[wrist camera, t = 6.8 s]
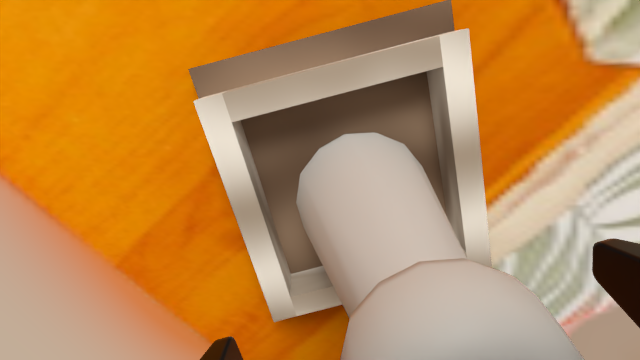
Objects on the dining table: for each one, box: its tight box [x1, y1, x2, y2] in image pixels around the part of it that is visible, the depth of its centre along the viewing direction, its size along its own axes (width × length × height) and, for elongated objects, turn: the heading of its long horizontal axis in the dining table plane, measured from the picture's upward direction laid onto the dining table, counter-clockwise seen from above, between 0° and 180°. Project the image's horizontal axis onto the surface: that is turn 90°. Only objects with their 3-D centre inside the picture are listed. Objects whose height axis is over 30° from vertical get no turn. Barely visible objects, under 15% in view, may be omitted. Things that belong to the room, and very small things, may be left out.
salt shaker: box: [296, 132, 584, 360], centre depth 12 cm, size 6×6×13 cm
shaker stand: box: [188, 0, 492, 322], centre depth 17 cm, size 14×12×3 cm
